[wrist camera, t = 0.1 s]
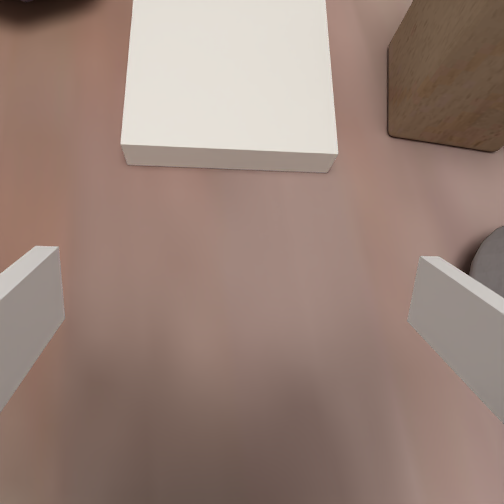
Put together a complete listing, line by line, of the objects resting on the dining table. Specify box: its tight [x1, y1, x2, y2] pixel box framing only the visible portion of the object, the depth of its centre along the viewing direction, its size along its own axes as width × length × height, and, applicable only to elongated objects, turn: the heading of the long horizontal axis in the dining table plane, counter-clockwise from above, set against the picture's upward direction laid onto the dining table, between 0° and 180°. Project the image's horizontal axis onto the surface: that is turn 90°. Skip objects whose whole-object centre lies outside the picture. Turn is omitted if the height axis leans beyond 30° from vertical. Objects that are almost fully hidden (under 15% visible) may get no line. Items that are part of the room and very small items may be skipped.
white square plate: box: [121, 0, 338, 173], centre depth 35 cm, size 16×16×3 cm
